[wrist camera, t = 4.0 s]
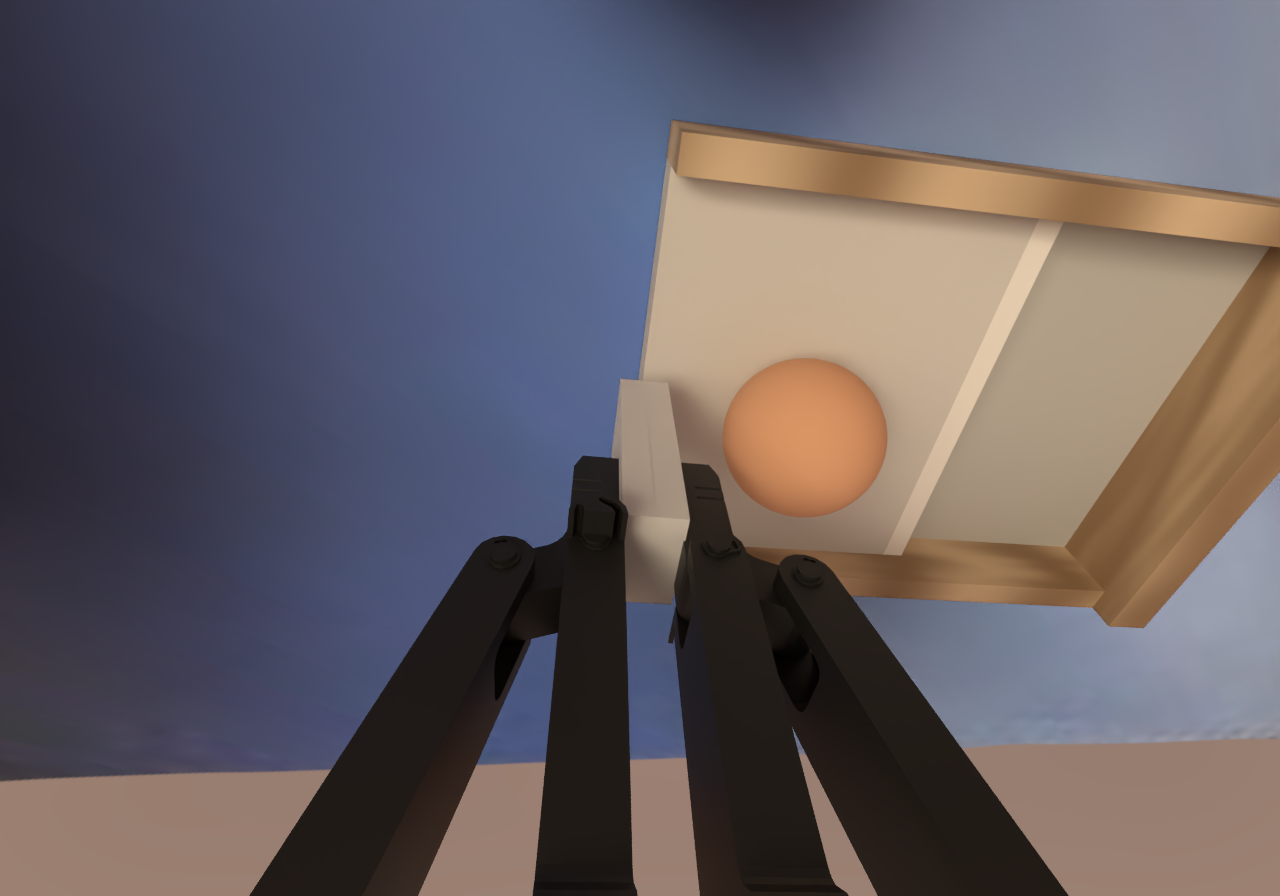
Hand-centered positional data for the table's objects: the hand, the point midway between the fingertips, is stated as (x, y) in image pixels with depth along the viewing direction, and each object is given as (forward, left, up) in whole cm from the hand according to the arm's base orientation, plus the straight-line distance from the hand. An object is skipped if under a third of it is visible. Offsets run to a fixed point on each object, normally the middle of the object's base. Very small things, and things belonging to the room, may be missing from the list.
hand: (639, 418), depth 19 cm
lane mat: (+11, 0, -3) cm, 12 cm away
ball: (+5, 0, +1) cm, 5 cm away
